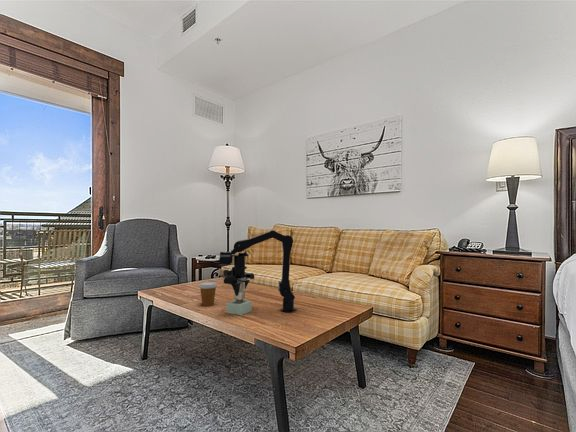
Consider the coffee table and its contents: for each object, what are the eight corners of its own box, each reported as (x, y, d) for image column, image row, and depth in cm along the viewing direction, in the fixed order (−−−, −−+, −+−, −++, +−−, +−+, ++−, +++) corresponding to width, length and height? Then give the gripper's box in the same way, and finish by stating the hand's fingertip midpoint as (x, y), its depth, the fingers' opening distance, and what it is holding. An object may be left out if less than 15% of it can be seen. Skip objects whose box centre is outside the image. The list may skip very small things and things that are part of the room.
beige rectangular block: (238, 300, 162) (238, 281, 163) (244, 301, 160) (244, 282, 161) (233, 302, 159) (234, 282, 159) (240, 303, 157) (240, 283, 157)
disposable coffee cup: (205, 302, 179) (205, 281, 179) (219, 303, 176) (219, 282, 177) (195, 306, 170) (196, 284, 170) (211, 307, 167) (211, 285, 167)
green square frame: (237, 308, 166) (237, 299, 166) (251, 310, 161) (251, 301, 161) (226, 312, 158) (226, 302, 158) (240, 315, 153) (240, 305, 153)
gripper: (238, 261, 172) (238, 289, 172) (215, 266, 156) (215, 296, 156) (254, 263, 167) (254, 292, 166) (232, 267, 150) (232, 299, 150)
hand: (239, 294), depth 160 cm, fingers closed on beige rectangular block, 4 cm apart
